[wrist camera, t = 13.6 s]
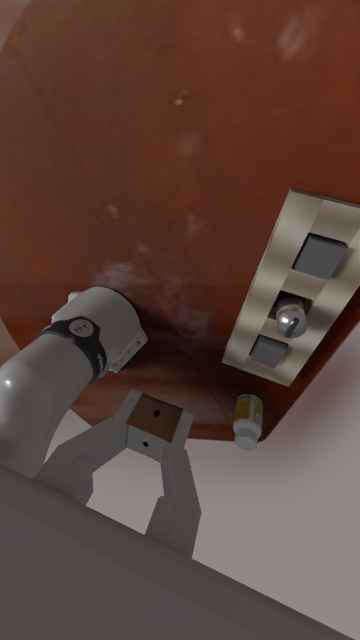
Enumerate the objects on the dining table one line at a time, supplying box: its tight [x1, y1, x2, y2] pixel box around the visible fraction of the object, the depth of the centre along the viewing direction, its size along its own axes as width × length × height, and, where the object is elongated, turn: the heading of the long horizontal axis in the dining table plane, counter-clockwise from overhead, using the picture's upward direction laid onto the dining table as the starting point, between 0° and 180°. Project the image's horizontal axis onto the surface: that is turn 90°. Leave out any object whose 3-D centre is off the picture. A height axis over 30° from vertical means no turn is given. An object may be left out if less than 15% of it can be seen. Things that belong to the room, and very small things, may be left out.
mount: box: [222, 188, 360, 387], centre depth 37 cm, size 28×12×4 cm, turn 169°
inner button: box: [251, 334, 286, 368], centre depth 41 cm, size 4×4×5 cm
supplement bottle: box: [233, 394, 263, 450], centre depth 49 cm, size 5×5×10 cm
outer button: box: [294, 232, 347, 280], centre depth 32 cm, size 4×4×5 cm
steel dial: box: [276, 297, 307, 338], centre depth 34 cm, size 4×4×6 cm
